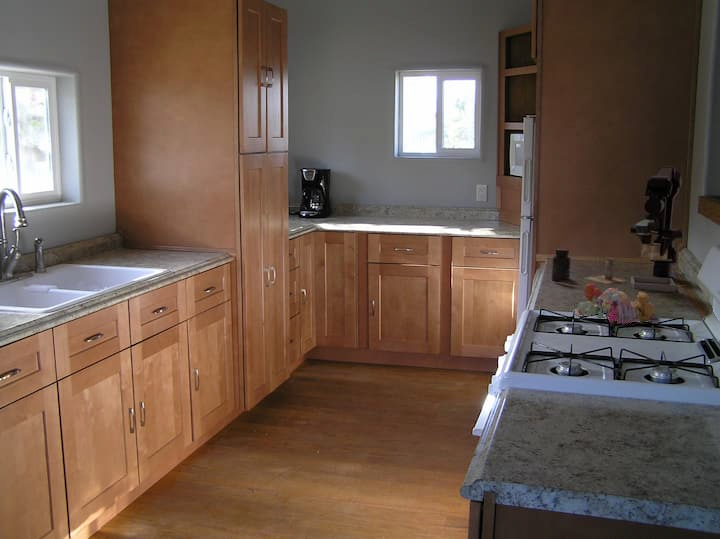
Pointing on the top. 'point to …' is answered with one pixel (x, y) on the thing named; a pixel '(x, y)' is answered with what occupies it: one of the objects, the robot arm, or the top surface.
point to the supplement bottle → (561, 265)
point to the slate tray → (653, 286)
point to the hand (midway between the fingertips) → (654, 255)
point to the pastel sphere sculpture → (616, 305)
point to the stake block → (606, 274)
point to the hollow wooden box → (652, 251)
